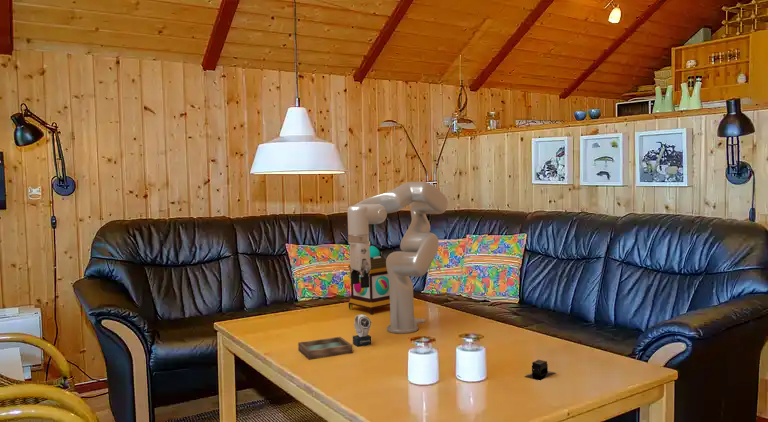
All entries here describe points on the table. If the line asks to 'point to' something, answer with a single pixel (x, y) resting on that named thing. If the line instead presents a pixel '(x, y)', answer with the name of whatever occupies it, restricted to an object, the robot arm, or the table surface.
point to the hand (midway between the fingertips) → (360, 285)
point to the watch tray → (325, 348)
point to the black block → (539, 370)
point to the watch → (362, 326)
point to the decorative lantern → (372, 285)
